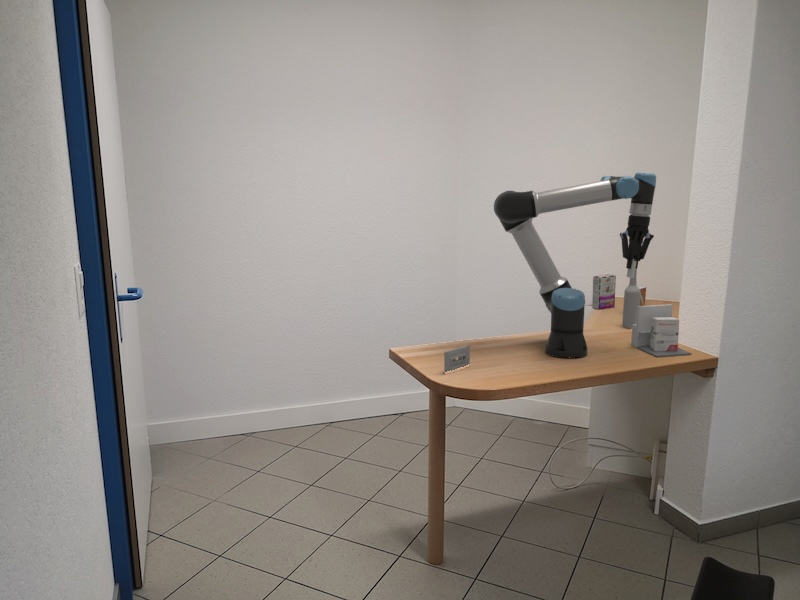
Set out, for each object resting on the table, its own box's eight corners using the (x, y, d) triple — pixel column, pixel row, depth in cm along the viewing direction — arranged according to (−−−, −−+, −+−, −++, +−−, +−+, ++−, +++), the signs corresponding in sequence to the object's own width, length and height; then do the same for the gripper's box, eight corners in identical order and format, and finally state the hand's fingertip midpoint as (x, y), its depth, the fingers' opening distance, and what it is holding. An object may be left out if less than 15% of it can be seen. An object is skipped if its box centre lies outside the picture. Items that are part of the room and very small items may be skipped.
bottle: (621, 327, 255) (625, 263, 250) (622, 324, 261) (626, 261, 255) (637, 329, 252) (642, 264, 247) (638, 325, 258) (643, 262, 253)
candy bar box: (607, 305, 301) (608, 273, 297) (614, 307, 296) (616, 275, 293) (591, 308, 295) (592, 275, 292) (598, 310, 291) (600, 277, 288)
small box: (637, 316, 276) (639, 289, 273) (624, 314, 280) (625, 287, 278) (644, 313, 281) (646, 286, 279) (631, 311, 286) (633, 285, 283)
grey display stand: (656, 357, 212) (659, 314, 209) (628, 344, 229) (631, 304, 226) (691, 354, 214) (694, 311, 211) (661, 342, 232) (664, 302, 228)
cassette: (466, 366, 206) (466, 344, 205) (470, 367, 205) (470, 345, 203) (443, 373, 198) (443, 351, 197) (447, 374, 197) (447, 352, 195)
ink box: (672, 347, 222) (674, 316, 220) (677, 351, 217) (680, 319, 215) (648, 347, 222) (651, 316, 220) (654, 351, 218) (656, 319, 215)
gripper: (629, 215, 215) (619, 278, 220) (661, 217, 217) (651, 279, 223) (618, 213, 222) (609, 274, 228) (649, 215, 224) (640, 275, 230)
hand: (630, 277), depth 225 cm, fingers closed
